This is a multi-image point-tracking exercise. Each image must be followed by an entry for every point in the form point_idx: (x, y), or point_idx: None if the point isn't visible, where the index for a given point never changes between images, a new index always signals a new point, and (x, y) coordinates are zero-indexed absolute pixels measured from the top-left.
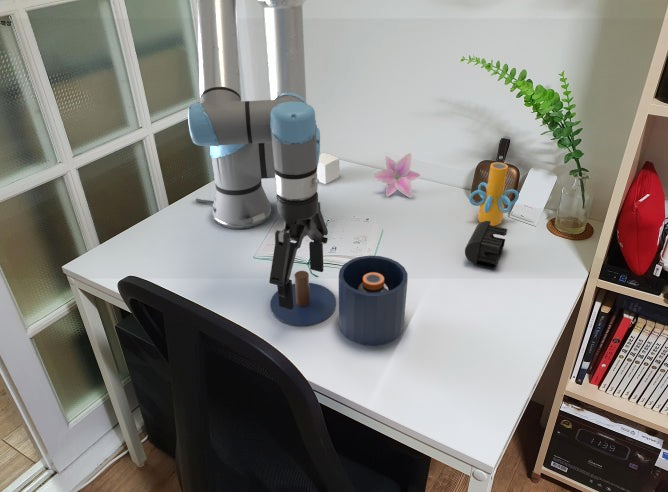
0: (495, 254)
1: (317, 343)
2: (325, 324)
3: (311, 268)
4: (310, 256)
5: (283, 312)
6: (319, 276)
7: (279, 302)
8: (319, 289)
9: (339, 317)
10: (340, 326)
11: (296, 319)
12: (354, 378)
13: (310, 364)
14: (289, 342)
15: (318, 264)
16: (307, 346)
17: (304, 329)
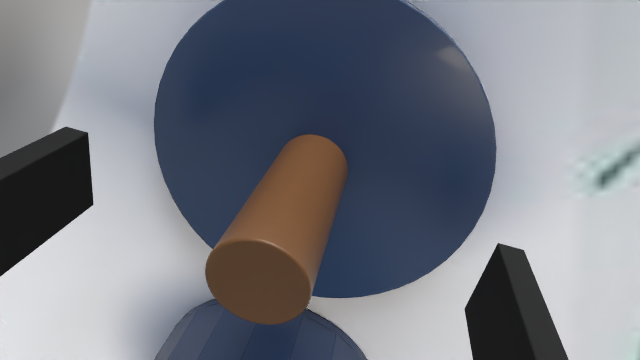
0: None
1: (129, 236)
2: None
3: (495, 257)
4: (521, 335)
5: (209, 86)
6: (602, 193)
7: (43, 140)
8: (433, 227)
9: (199, 340)
10: (200, 318)
11: (183, 159)
12: (53, 333)
13: None
14: (89, 140)
15: (482, 335)
16: (101, 206)
17: None
